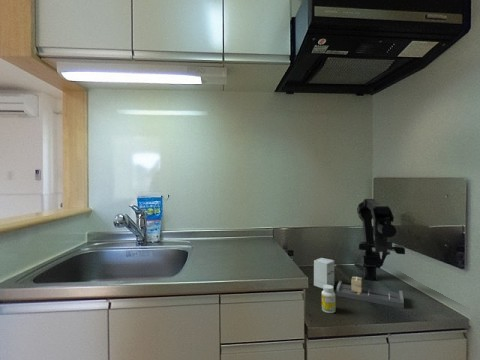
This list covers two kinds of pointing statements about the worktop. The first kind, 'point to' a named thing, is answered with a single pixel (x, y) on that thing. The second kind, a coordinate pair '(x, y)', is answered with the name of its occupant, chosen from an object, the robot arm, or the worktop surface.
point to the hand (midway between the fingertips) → (381, 265)
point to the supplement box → (323, 272)
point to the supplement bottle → (328, 299)
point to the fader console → (371, 295)
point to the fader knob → (356, 284)
